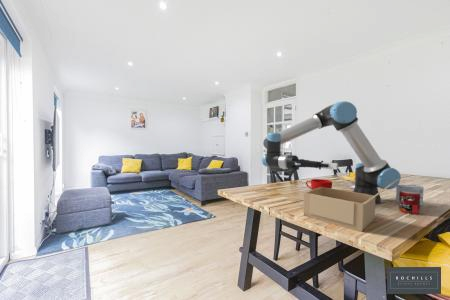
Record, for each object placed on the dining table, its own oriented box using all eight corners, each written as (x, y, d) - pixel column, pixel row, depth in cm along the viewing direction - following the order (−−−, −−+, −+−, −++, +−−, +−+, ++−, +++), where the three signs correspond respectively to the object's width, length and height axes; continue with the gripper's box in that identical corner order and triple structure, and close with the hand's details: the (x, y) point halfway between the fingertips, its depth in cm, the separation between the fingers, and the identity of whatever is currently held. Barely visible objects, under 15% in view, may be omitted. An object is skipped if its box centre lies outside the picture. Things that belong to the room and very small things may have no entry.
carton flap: (390, 184, 76) (391, 184, 75) (398, 178, 89) (399, 179, 88) (363, 203, 82) (364, 204, 81) (375, 195, 95) (376, 196, 95)
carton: (302, 215, 99) (302, 192, 99) (320, 206, 114) (321, 186, 113) (361, 232, 81) (362, 204, 81) (374, 219, 96) (375, 195, 95)
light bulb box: (414, 202, 126) (414, 184, 126) (423, 205, 120) (424, 186, 119) (395, 201, 127) (395, 183, 127) (403, 204, 121) (404, 186, 120)
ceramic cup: (310, 191, 151) (310, 177, 150) (335, 196, 138) (335, 181, 138) (301, 194, 142) (301, 179, 142) (327, 199, 129) (327, 183, 129)
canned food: (394, 209, 110) (395, 189, 110) (408, 209, 111) (409, 189, 111) (408, 214, 103) (409, 192, 102) (423, 214, 103) (424, 192, 103)
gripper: (294, 168, 115) (341, 173, 98) (282, 170, 106) (331, 176, 89) (295, 154, 115) (342, 157, 98) (282, 155, 106) (332, 158, 89)
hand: (336, 166), depth 94 cm, fingers closed
